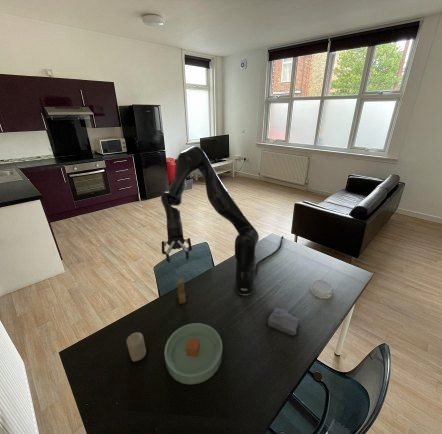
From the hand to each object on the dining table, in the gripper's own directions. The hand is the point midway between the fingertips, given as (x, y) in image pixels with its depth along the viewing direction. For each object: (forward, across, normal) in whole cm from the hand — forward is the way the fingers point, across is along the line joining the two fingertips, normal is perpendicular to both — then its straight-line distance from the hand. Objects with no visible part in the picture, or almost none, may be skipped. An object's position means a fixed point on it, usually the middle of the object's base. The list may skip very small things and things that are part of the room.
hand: (178, 261), depth 114 cm
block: (+37, +2, -16) cm, 40 cm away
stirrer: (+18, 0, +4) cm, 19 cm away
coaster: (+26, +67, -4) cm, 72 cm away
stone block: (+34, +41, -12) cm, 55 cm away
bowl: (+38, +2, -16) cm, 42 cm away
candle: (+34, -18, -12) cm, 41 cm away
